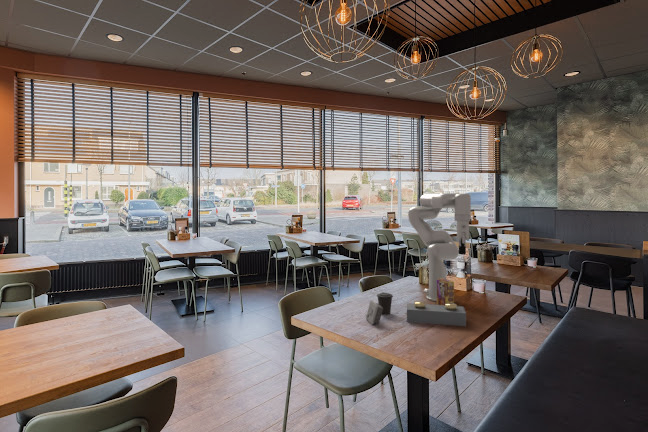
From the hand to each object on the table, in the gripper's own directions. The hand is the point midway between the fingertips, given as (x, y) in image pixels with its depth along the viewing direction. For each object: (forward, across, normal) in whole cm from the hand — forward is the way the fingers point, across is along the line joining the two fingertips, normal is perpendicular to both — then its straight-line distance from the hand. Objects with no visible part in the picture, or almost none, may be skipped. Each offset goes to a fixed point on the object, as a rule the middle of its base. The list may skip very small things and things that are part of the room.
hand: (462, 254), depth 182 cm
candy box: (+29, +1, +8) cm, 30 cm away
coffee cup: (+29, -12, +38) cm, 50 cm away
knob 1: (+27, -18, +21) cm, 39 cm away
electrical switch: (+29, -25, +42) cm, 57 cm away
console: (+29, -18, +14) cm, 37 cm away
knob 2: (+27, -18, +7) cm, 34 cm away
